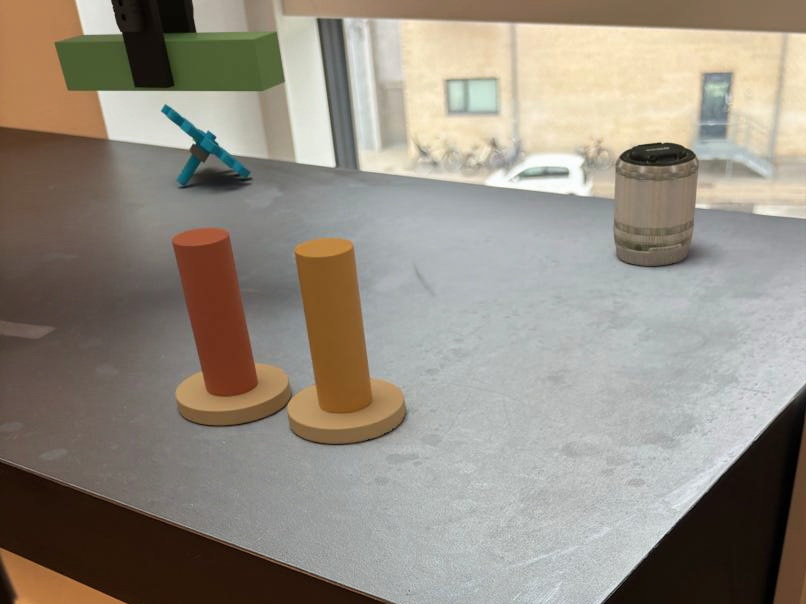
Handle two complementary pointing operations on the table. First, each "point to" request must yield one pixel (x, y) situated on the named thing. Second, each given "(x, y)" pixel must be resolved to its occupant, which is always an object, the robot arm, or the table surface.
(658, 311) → the table surface
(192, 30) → the robot arm
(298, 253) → the ochre rod
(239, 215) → the table surface
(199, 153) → the teal blocky crossed piece
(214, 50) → the green bar
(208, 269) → the terracotta rod
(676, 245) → the camera lens
